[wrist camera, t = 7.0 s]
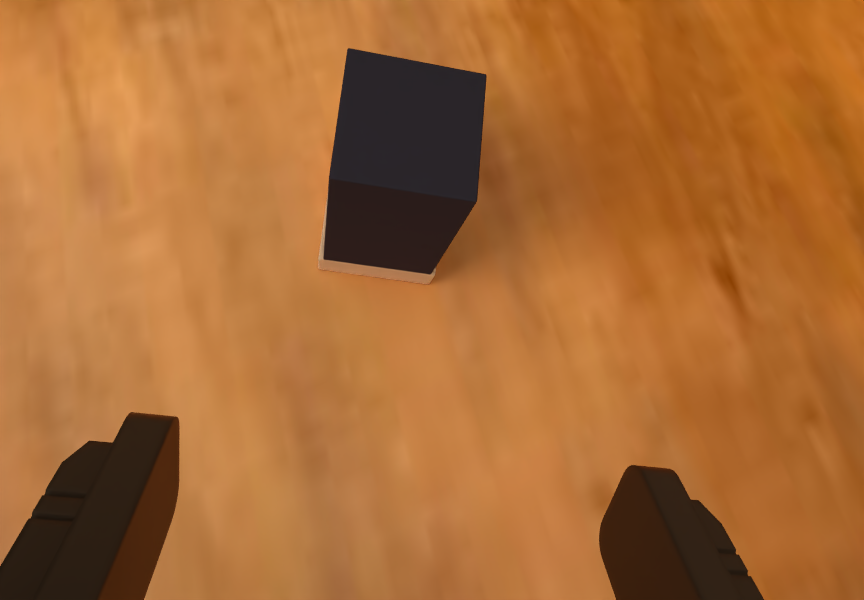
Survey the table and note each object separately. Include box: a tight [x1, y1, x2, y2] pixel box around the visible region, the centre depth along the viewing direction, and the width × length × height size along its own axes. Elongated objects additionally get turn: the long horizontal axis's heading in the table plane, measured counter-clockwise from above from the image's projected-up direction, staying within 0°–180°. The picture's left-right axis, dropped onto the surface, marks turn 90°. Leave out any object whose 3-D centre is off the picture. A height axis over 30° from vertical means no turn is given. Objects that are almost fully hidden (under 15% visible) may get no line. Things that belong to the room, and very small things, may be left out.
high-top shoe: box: [318, 48, 486, 284], centre depth 26 cm, size 9×5×10 cm, turn 175°
